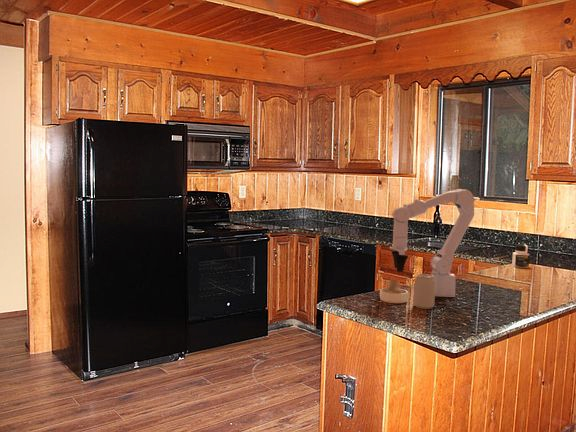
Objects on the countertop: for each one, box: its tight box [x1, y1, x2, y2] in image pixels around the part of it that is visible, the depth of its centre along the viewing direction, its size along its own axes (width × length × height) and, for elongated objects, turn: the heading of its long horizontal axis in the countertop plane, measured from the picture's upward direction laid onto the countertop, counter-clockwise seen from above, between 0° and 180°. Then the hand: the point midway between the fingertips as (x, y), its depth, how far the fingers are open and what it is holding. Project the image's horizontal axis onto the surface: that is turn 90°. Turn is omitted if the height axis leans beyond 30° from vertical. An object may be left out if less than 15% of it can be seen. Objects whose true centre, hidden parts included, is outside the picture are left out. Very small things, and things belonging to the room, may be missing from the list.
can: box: [413, 273, 436, 310], centre depth 204 cm, size 8×8×12 cm
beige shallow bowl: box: [379, 287, 409, 304], centre depth 214 cm, size 10×10×4 cm
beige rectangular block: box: [387, 279, 401, 294], centre depth 214 cm, size 4×2×7 cm, turn 86°
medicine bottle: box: [511, 243, 531, 269], centre depth 295 cm, size 7×7×12 cm
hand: (398, 269), depth 224 cm, fingers open, 7 cm apart
